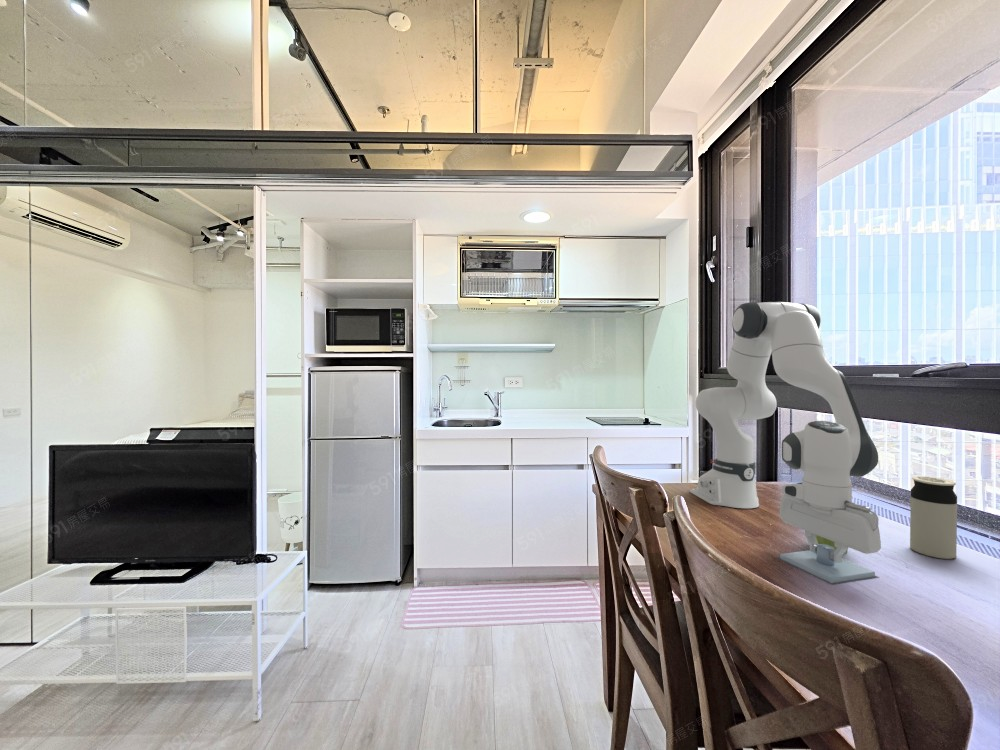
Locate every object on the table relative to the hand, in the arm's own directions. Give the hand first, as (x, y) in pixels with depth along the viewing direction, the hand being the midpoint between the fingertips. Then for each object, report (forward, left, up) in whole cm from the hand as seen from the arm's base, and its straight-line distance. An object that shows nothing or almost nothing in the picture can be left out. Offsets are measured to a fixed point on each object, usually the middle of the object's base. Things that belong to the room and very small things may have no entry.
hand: (825, 556), depth 95 cm
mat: (0, 0, -3) cm, 3 cm away
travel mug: (0, +34, -3) cm, 35 cm away
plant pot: (-7, +11, -3) cm, 14 cm away
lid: (0, 0, -2) cm, 2 cm away
